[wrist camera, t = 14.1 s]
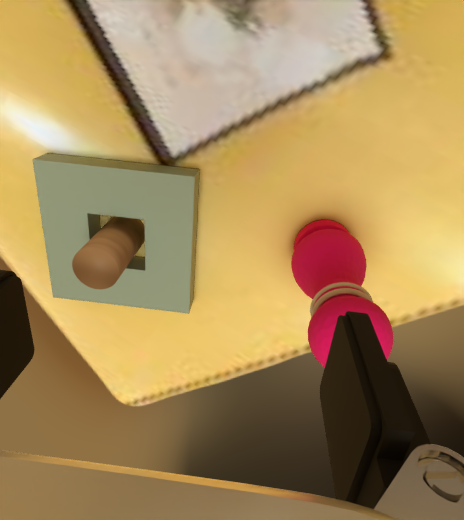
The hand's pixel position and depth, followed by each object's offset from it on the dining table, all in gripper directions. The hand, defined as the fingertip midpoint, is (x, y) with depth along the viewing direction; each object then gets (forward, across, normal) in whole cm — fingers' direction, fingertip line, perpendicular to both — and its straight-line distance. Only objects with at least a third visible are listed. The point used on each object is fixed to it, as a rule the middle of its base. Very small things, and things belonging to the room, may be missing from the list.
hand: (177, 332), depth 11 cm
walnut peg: (+30, +12, +11) cm, 34 cm away
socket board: (+30, +12, +11) cm, 34 cm away
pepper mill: (+31, -10, +10) cm, 34 cm away
